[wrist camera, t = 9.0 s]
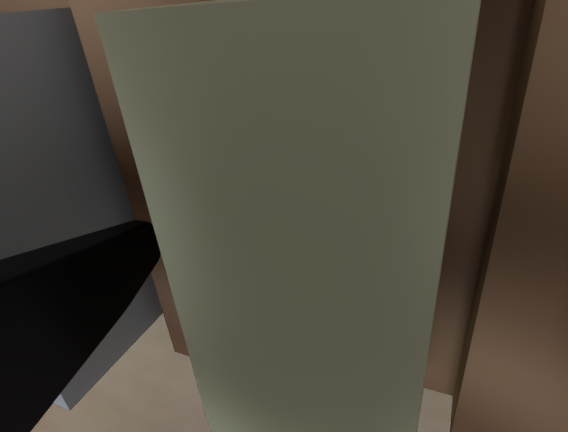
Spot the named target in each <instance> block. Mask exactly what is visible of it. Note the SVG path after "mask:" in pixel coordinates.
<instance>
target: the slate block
mask: <svg viewBox="0 0 568 432" xmlns="http://www.w3.org/2000/svg"><path fill="white" fill-rule="evenodd" d="M133 220H135V218H134V215H133V212H132V208H131V205H130V202H129V198H128V195H127V192H126V188H125V185H124V182H123V179H122V175H121V172H120V169H119V165H118V162H117V159H116V155H115V152H114V149H113V146H112V142H111V139H110V136H109V132H108V129H107V126H106V122H105V119H104V116H103V113H102V109H101V106H100V103H99V99H98V96H97V93H96V89H95V86H94V83H93V80H92V76H91V73H90V70H89V66H88V63H87V60H86V56H85V53H84V50H83V47H82V43H81V40H80V37H79V33H78V30H77V27H76V23H75V20H74V17H73V14H72V10H71V7H67V8H56V9H44V10H32V11H21V12H9V13H0V259H4V258H7V257H10V256H14V255H17V254H21V253H24V252H27V251H31V250H34V249H38V248H41V247H44V246H48V245H51V244H55V243H58V242H61V241H65V240H68V239H72V238H75V237H78V236H82V235H85V234H88V233H92V232H95V231H99V230H102V229H105V228H109V227H112V226H116V225H119V224H122V223H126V222H129V221H133ZM162 313H163V311H162V307H161V304H160V301H159V297H158V294H157V291H156V287H155V284H154V281H153V278H152V274H151V273H150V275H149V276H148V278H147V279H146V281H145V282H144V284H143V285H142V287H141V289H140V290H139V292H138V293H137V295H136V296H135V298H134V299H133V301H132V302H131V304H130V305H129V307H128V308H127V310H126V311H125V312H124V314H123V315H122V316H121V318H120V319H119V320H118V321H117V323H116V324H115V325H114V327H113V328H112V329H111V330H110V332H109V333H108V334H107V335H106V337H105V338H104V339H103V340H102V342H101V343H100V344H99V346H98V347H97V348H96V349H95V351H94V352H93V353H92V354H91V356H90V357H89V358H88V359H87V361H86V362H85V363H84V365H83V366H82V367H81V368H80V370H79V371H78V372H77V373H76V375H75V376H74V377H73V378H72V380H71V381H70V382H69V384H68V385H67V386H66V387H65V389H64V390H63V391H62V392H61V394H60V395H59V396H58V397H57V399H56V400H55V401H54V404H56V405H58V406H61V407H63V408H65V409H67V410H69V411H70V410H71V409H72V408H73V407H74V406H75V405H76V404H77V403H78V402H79V401H80V400H81V399H82V397H83V396H84V395H85V394H86V393H87V392H88V391H89V390H90V389H91V388H92V387H93V386H94V385H95V384H96V383H97V382H98V381H99V380H100V379H101V377H102V376H103V375H104V374H105V373H106V372H107V371H108V370H109V369H110V368H111V367H112V366H113V365H114V364H115V363H116V362H117V361H118V360H119V359H120V357H121V356H122V355H123V354H124V353H125V352H126V351H127V350H128V349H129V348H130V347H131V346H132V345H133V344H134V343H135V342H136V341H137V340H138V338H139V337H140V336H141V335H142V334H143V333H144V332H145V331H146V330H147V329H148V328H149V327H150V326H151V325H152V324H153V323H154V322H155V321H156V320H157V318H158V317H159V316H160V315H161V314H162Z"/></svg>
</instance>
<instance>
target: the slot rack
mask: <svg viewBox="0 0 568 432" xmlns="http://www.w3.org/2000/svg"><path fill="white" fill-rule="evenodd" d="M202 1H211V0H0V13H9V12H21V11H32V10H44V9H56V8H67V7H71V10H72V14H73V17H74V20H75V23H76V27H77V30H78V33H79V37H80V40H81V43H82V47H83V50H84V53H85V56H86V60H87V63H88V66H89V70H90V73H91V76H92V80H93V83H94V86H95V89H96V93H97V96H98V99H99V103H100V106H101V109H102V113H103V116H104V119H105V122H106V126H107V129H108V132H109V136H110V139H111V142H112V146H113V149H114V152H115V155H116V159H117V162H118V165H119V169H120V172H121V175H122V179H123V182H124V185H125V188H126V192H127V195H128V198H129V202H130V205H131V208H132V212H133V215H134V218H135V220H142V221H147V222H150V223H152V220H151V217H150V213H149V209H148V206H147V202H146V199H145V195H144V191H143V188H142V184H141V181H140V177H139V173H138V170H137V166H136V163H135V159H134V156H133V152H132V148H131V145H130V141H129V138H128V134H127V130H126V127H125V123H124V120H123V116H122V113H121V109H120V105H119V102H118V98H117V95H116V91H115V87H114V84H113V80H112V77H111V73H110V70H109V66H108V62H107V59H106V55H105V52H104V48H103V44H102V41H101V37H100V34H99V30H98V27H97V23H96V19H95V16H94V13H97V12H107V11H116V10H126V9H135V8H145V7H154V6H164V5H173V4H183V3H192V2H202ZM151 274H152V278H153V281H154V284H155V287H156V291H157V294H158V297H159V301H160V304H161V307H162V311H163V314H164V317H165V320H166V324H167V327H168V330H169V334H170V337H171V340H172V344H173V347H174V350H175V352H178V353H181V354H184V355H187V356H189V353H188V349H187V346H186V342H185V338H184V335H183V331H182V328H181V324H180V320H179V317H178V313H177V310H176V306H175V303H174V299H173V295H172V292H171V288H170V285H169V281H168V277H167V274H166V270H165V267H164V263H163V260H162V256H161V255H160V259H159V261H158V262H157V264H156V266H155V267H154V269H153V270H152V272H151ZM424 388H428V389H431V390H435V391H438V392H441V393H445V394H448V395H452V396H453V401H452V414H451V426H450V432H568V0H481V6H480V13H479V19H478V26H477V33H476V39H475V46H474V53H473V59H472V66H471V73H470V80H469V86H468V93H467V100H466V106H465V113H464V120H463V127H462V133H461V140H460V147H459V153H458V160H457V167H456V174H455V180H454V187H453V194H452V200H451V207H450V214H449V220H448V227H447V234H446V241H445V247H444V254H443V261H442V267H441V274H440V281H439V288H438V294H437V301H436V308H435V314H434V321H433V328H432V335H431V341H430V348H429V355H428V361H427V368H426V375H425V381H424Z"/></svg>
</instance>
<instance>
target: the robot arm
mask: <svg viewBox="0 0 568 432" xmlns="http://www.w3.org/2000/svg"><path fill="white" fill-rule="evenodd" d="M160 255H161V252H160V249H159V245H158V242H157V238H156V234H155V231H154V227H153V224H152V223H150V222H147V221H142V220H133V221H129V222H126V223H122V224H119V225H116V226H112V227H109V228H105V229H102V230H99V231H95V232H92V233H88V234H85V235H82V236H78V237H75V238H72V239H68V240H65V241H61V242H58V243H55V244H51V245H48V246H44V247H41V248H38V249H34V250H31V251H27V252H24V253H21V254H17V255H14V256H10V257H7V258H4V259H0V432H31V430H32V429H33V428H34V427H35V425H36V424H37V423H38V421H39V420H40V419H41V418H42V416H43V415H44V414H45V413H46V411H47V410H48V409H49V408H50V406H51V405H52V404H53V403H54V401H55V400H56V399H57V397H58V396H59V395H60V394H61V392H62V391H63V390H64V389H65V387H66V386H67V385H68V384H69V382H70V381H71V380H72V378H73V377H74V376H75V375H76V373H77V372H78V371H79V370H80V368H81V367H82V366H83V365H84V363H85V362H86V361H87V359H88V358H89V357H90V356H91V354H92V353H93V352H94V351H95V349H96V348H97V347H98V346H99V344H100V343H101V342H102V340H103V339H104V338H105V337H106V335H107V334H108V333H109V332H110V330H111V329H112V328H113V327H114V325H115V324H116V323H117V321H118V320H119V319H120V318H121V316H122V315H123V314H124V312H125V311H126V310H127V308H128V307H129V305H130V304H131V302H132V301H133V299H134V298H135V296H136V295H137V293H138V292H139V290H140V289H141V287H142V285H143V284H144V282H145V281H146V279H147V278H148V276H149V275H150V273H151V272H152V270H153V269H154V267H155V266H156V264H157V262H158V261H159V259H160Z"/></svg>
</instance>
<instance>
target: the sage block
mask: <svg viewBox="0 0 568 432" xmlns="http://www.w3.org/2000/svg"><path fill="white" fill-rule="evenodd" d="M480 6H481V0H211V1H202V2H192V3H183V4H173V5H164V6H154V7H145V8H135V9H126V10H116V11H107V12H97V13H94V16H95V19H96V23H97V27H98V30H99V34H100V37H101V41H102V44H103V48H104V52H105V55H106V59H107V62H108V66H109V70H110V73H111V77H112V80H113V84H114V87H115V91H116V95H117V98H118V102H119V105H120V109H121V113H122V116H123V120H124V123H125V127H126V130H127V134H128V138H129V141H130V145H131V148H132V152H133V156H134V159H135V163H136V166H137V170H138V173H139V177H140V181H141V184H142V188H143V191H144V195H145V199H146V202H147V206H148V209H149V213H150V217H151V220H152V224H153V227H154V231H155V234H156V238H157V242H158V245H159V249H160V252H161V256H162V260H163V263H164V267H165V270H166V274H167V277H168V281H169V285H170V288H171V292H172V295H173V299H174V303H175V306H176V310H177V313H178V317H179V320H180V324H181V328H182V331H183V335H184V338H185V342H186V346H187V349H188V353H189V356H190V360H191V363H192V367H193V371H194V374H195V378H196V381H197V385H198V389H199V392H200V396H201V399H202V403H203V406H204V410H205V414H206V417H207V421H208V424H209V428H210V432H417V427H418V421H419V414H420V408H421V401H422V394H423V388H424V381H425V375H426V368H427V361H428V355H429V348H430V341H431V335H432V328H433V321H434V314H435V308H436V301H437V294H438V288H439V281H440V274H441V267H442V261H443V254H444V247H445V241H446V234H447V227H448V220H449V214H450V207H451V200H452V194H453V187H454V180H455V174H456V167H457V160H458V153H459V147H460V140H461V133H462V127H463V120H464V113H465V106H466V100H467V93H468V86H469V80H470V73H471V66H472V59H473V53H474V46H475V39H476V33H477V26H478V19H479V13H480Z"/></svg>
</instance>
